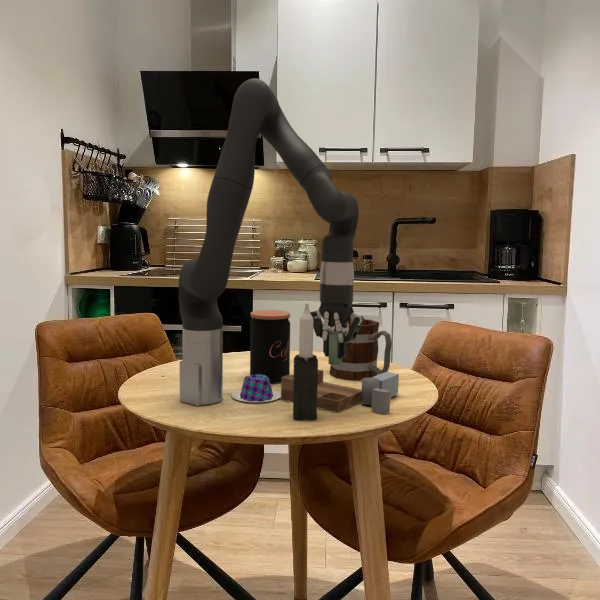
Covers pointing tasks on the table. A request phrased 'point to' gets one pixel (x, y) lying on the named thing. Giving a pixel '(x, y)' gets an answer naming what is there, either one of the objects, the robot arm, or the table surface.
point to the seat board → (325, 394)
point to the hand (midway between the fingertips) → (335, 356)
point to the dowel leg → (333, 349)
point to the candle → (305, 372)
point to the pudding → (256, 389)
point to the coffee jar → (270, 344)
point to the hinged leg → (379, 385)
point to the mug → (363, 354)
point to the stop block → (381, 400)
